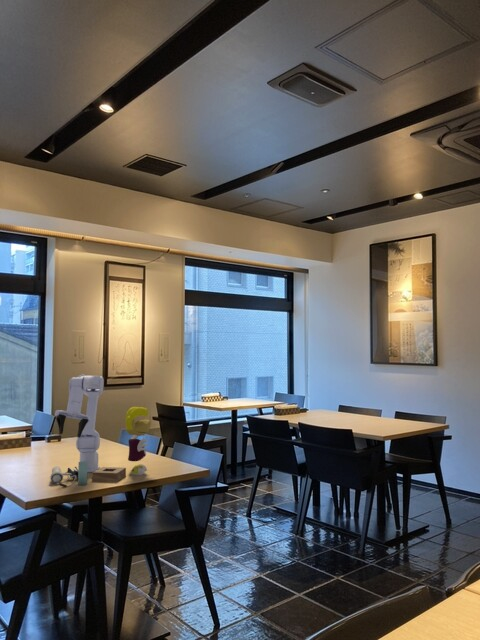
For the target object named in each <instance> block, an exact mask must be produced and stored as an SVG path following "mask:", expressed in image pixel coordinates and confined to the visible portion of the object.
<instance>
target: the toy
mask: <svg viewBox="0 0 480 640" xmlns="http://www.w3.org/2000/svg"><path fill="white" fill-rule="evenodd" d="M148 413H149V412H148V408H146V407H141V406H132V407H130V408H129V409H128V410H127V412H126V414H125V416H124V418H125V430H126V432H127V434H128V435H130V436H132V437H131V438H130V439H128V457H127V460H128V461H129V462H139V461H141V460H142V459H144V458H145V457H146V455H147V451H146V448H145V447H147V446H148V443H146V442H148V441H149V438H144V437H143V438H142V439H139V438H138V436H139V437H141V436H145V435H146V434H147V433H148V432H149V430H150V428H151V423H152V422H151V420H150V419H140V420H137V421H136V422H135V419H136V418H137V417H139V416H142V417H147V418H148V417H149V415H148ZM146 470H147V471H148V468H147V466H146V465H145V464H142V463H140V464H137V465H133V467H132V469H131V470H130V471H129V474H130V475H133V476H135V475H136V476H142V475H143V474H144V475H146V472H147V471H146Z"/></svg>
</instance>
